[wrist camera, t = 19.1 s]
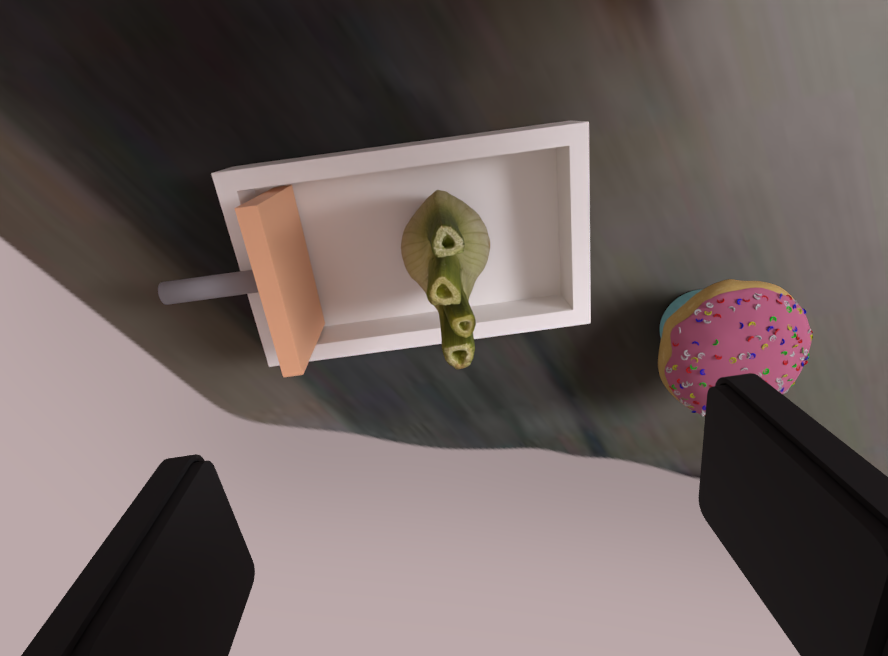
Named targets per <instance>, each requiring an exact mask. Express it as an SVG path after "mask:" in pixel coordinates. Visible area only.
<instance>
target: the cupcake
mask: <svg viewBox="0 0 888 656" xmlns="http://www.w3.org/2000/svg"><path fill="white" fill-rule="evenodd" d="M803 310H804V311H803ZM805 313H806V310H805V309H803V308H801V307H800V306H799V304H798V302H797V301H796V300H794V299H793V297H792V296H791V295H790V294H789V293H787V292H786V291H785V290H784V289H782V288H781V287H779V286H777V285H774V284H770V283H766V282H761V281H739V280H733V279H727V280H724V281H721V282H717V283H715V284H712V285H710V286H708V287H707V288H705V289H703V290H694V291H691V292H688V293H685V294H683V295H681V296H680V297H678V298H677V299H676V300H674V301H673V302H672V303H671V304H670V305H669V306H668V308H667V309H666V311H665V312H664V314H663V316H662V319H661V322H660V337H661V342H660V347H659V355H658V370H659V375H660V378H661V380H662V382H663V384H664V385H665V387H666V388H667V390H668V391H669V392H670V393H671V394H672V395H673V396H674V397H675V398H676V399H677V400H678V401H679V402H681V403H682V404H684V405H685V406H686V407H688V408H689V409H691V410H693V411H692V413H695V412H697V413H699V414H701V415H702V416H703V415H704V416H705V414H706V402H707V393H708V390H709V388H710V387H713V386H715V384H716V382H717V380H718V379H719V378H721V377H727V376H734V375H741V374H748V373H754V374H756V375H758V376H759V377H761V378H762V379H763V380H764V381H766V382H767V383H768V384H770V385H771V386H772V387H773V388H775V389H776V390H777V391H778V392H780V393H781V394H783V393H787V392H788V390H789V388H790V387H791V386H793V384H795V382H794V381H795V380H796V379H797V377H798V376H799V374H800V372H801V370H802V368H803V366H804V365H805V364H807V363H808V361H806V360H807V359H809V353H808V352H809V349H810V345H811V340H812V338H813V335H811V332H812V330H811V329H810V327H809V324H808V320H807V317H806V315H805ZM812 333H813V332H812Z"/></svg>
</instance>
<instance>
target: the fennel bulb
mask: <svg viewBox="0 0 888 656" xmlns="http://www.w3.org/2000/svg"><path fill="white" fill-rule="evenodd" d="M489 252H490V238H489V236H488V231H487V228H486V226H485V224H484V222H483V221H482V219H481V217H480V216H479V214H477V212H476V211H475V210H473V209H472V208H471V207H470V206H468V205H467V204H466V203H464V202H463V201H462V200H460V199H458V198H456V197H455V196H453V195H451V194H449V193H448V192H446V191H442V190H436V191H435V192H434V193H433V194H432V195H430V196H429V197H428V198H427V199H426V200H425V201H424V203H423V204H422V205H421V206H420V207H419V208H418V209H417V210H416V212H415V214H414V215H413V216H412V217H411V219H410V221H409V222H408V224H407V225H406V227H405V229H404V232H403V236H402V241H401V254H402V259H403V261H404V265H405V268H406V270H407V272H408V273H409V275H410V276H411V278H412V279H413V280H415V281H416V282H417V283H418V284H419V286H420V287H421V288H422V289H423V290H424V292H425V293H426V295H427V299H428V301H429V302H430V303H431V304H432V305H434V307H435V308H436V309H437V311H438V313H439V319H440V328H441V339H442V341H441V343H442V350H443V354H444V357H445V360H446V361H447V362H448V364H449V365H451V366H453V367H454V368H455V369H458V370H459V369H462V368H465V367H468V366H469V365H470V363H471V361H472V360H473V357H474V351H475V344H474V336H473V331H474V329H475V325H476V319H475V316H474V314H473V311H472V309H471V307H470V305H469V297H470V294H471V292H472V290H473V287H474V284H475V281H476V279H477V278H478V276H479V275H480V274H481V273H482V271H483V270H484V268H485V266H486V264H487V261H488V256H489Z"/></svg>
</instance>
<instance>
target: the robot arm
mask: <svg viewBox="0 0 888 656" xmlns="http://www.w3.org/2000/svg"><path fill="white" fill-rule="evenodd" d="M699 505H700V509H701V512H702V514H703V516H704V518H705V519H706V521H707V522H708V524H709V525H710V527H711V528H712V530H713V531H714V532H715V534H716V535H717V537H718V538H719V540H720V541H721V542H722V544H723V545H724V547H725V548H726V550H727V551H728V552H729V554H730V555H731V557H732V558H733V560H734V561H735V562H736V564H737V565H738V567H739V568H740V570H741V571H742V572H743V574H744V575H745V577H746V578H747V580H748V581H749V582H750V584H751V585H752V587H753V588H754V590H755V591H756V592H757V594H758V595H759V597H760V598H761V600H762V601H763V602H764V604H765V605H766V607H767V608H768V610H769V611H770V612H771V614H772V615H773V617H774V618H775V619H776V621H777V622H778V624H779V625H780V627H781V628H782V630H783V631H784V632H785V634H786V635H787V637H788V638H789V640H790V641H791V642H792V644H793V645H794V647H795V648H796V650H797V651H798V652H799V654H800V655H801V656H888V477H887V476H886V475H884V474H883V473H882V472H881V471H879V470H878V469H877V468H875V467H874V466H873V465H872V464H870V463H869V462H868V461H867V460H865V459H864V458H863V457H861V456H860V455H859V454H858V453H856V452H855V451H854V450H852V449H851V448H850V447H849V446H847V445H846V444H845V443H844V442H842V441H841V440H840V439H838V438H837V437H836V436H835V435H833V434H832V433H831V432H830V431H828V430H827V429H826V428H824V427H823V426H822V425H821V424H819V423H818V422H817V421H815V420H814V419H813V418H812V417H810V416H809V415H808V414H807V413H805V412H804V411H803V410H801V409H800V408H799V407H798V406H796V405H795V404H794V403H793V402H791V401H790V400H789V399H787V398H786V397H785V396H784V395H782V394H781V393H780V392H778V391H777V390H776V389H775V388H773V387H772V386H771V385H770V384H768V383H767V382H766V381H764V380H763V379H762V378H761V377H759V376H758V375H756V374H754V373H748V374H741V375H734V376H727V377H721V378H719V379H718V380H717V382H716V384H715V386H713V387H710V388H709V390H708V393H707V402H706V414H705V426H704V439H703V451H702V463H701V475H700V489H699ZM254 575H255V570H254V563H253V560H252V558H251V555H250V553H249V550H248V548H247V546H246V543H245V541H244V538H243V536H242V533H241V531H240V528H239V526H238V523H237V521H236V519H235V516H234V514H233V511H232V509H231V506H230V504H229V501H228V499H227V496H226V494H225V492H224V489H223V487H222V484H221V482H220V479H219V477H218V474H217V472H216V469H215V468H214V465H213V464H212V463H211V462H210V461H204V459H203V458H202V457H201V456H200V455H189V456H183V457H175V458H169V459H166V460H164V461H163V462H162V463H161V464H160V465H159V467H158V468H157V469H156V471H155V472H154V473H153V475H152V476H151V477H150V479H149V480H148V482H147V483H146V484H145V486H144V487H143V488H142V490H141V491H140V493H139V494H138V496H137V497H136V498H135V500H134V501H133V502H132V504H131V505H130V507H129V508H128V509H127V511H126V512H125V513H124V515H123V516H122V517H121V519H120V520H119V522H118V523H117V524H116V526H115V527H114V528H113V530H112V531H111V533H110V534H109V535H108V537H107V538H106V539H105V541H104V542H103V544H102V545H101V546H100V548H99V549H98V551H97V552H96V553H95V555H94V556H93V557H92V559H91V560H90V562H89V563H88V564H87V566H86V567H85V568H84V570H83V571H82V573H81V574H80V575H79V577H78V578H77V579H76V581H75V582H74V584H73V585H72V586H71V588H70V589H69V590H68V592H67V593H66V595H65V596H64V597H63V599H62V600H61V602H60V603H59V604H58V606H57V607H56V609H55V610H54V611H53V613H52V614H51V615H50V617H49V618H48V620H47V621H46V623H45V624H44V625H43V626H42V628H41V629H40V631H39V632H38V633H37V635H36V636H35V637H34V639H33V640H32V642H31V643H30V644H29V646H28V647H27V648H26V650H25V651H24V652H23V654H22V655H21V656H228V654H229V652H230V649H231V646H232V643H233V640H234V637H235V634H236V631H237V628H238V626H239V622H240V620H241V617H242V614H243V611H244V608H245V605H246V602H247V600H248V597H249V594H250V590H251V588H252V585H253V582H254Z"/></svg>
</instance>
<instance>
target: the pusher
mask: <svg viewBox="0 0 888 656" xmlns="http://www.w3.org/2000/svg"><path fill="white" fill-rule="evenodd" d="M234 209H235V212H236V216H237V219H238V223H239V226H240V229H241V233H242V236H243V240H244V243H245V247H246V250H247V254H248V257H249V261H250V264H251V267H252V270H247V271H240V272H232V273H225V274H217V275H210V276H203V277H195V278H188V279H181V280H173V281H166V282H161V283H160V284H159V286H158V295H159V298H160V300H161V301H162V303H163V304H165V305H168V304H176V303H183V302H190V301H198V300H205V299H213V298H220V297H227V296H235V295H242V294H249V293H257V292H259V295H260V299H261V302H262V305H263V309H264V312H265V316H266V319H267V323H268V326H269V330H270V333H271V337H272V340H273V343H274V347H275V350H276V354H277V357H278V361H279V364H280V368H281V371H282V375H283V377H289V376H297V375H303V374H304V371H305V369H306V367H307V365H308V362H309V360H310V358H311V355H312V353H313V351H314V348H315V346H316V344H317V341H318V339H319V337H320V334H321V332H322V330H323V327H324V325H325V321H324V317H323V312H322V308H321V304H320V300H319V296H318V292H317V287H316V283H315V279H314V275H313V271H312V267H311V262H310V258H309V254H308V250H307V246H306V241H305V237H304V233H303V229H302V225H301V221H300V216H299V212H298V208H297V204H296V200H295V196H294V191H293V187H292V185H287V186H279V187H273V188H272V189H270V190H268V191H266V192H264V193H262V194H260V195H259V196H257V197H255V198H253V199H251V200H249V201H247V202H245V203H244V204H242V205H240V206H238V207H236V208H234Z"/></svg>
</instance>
